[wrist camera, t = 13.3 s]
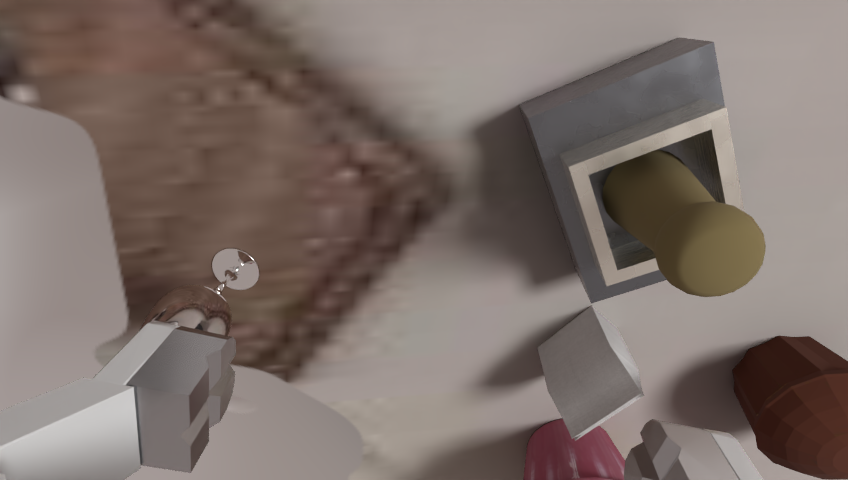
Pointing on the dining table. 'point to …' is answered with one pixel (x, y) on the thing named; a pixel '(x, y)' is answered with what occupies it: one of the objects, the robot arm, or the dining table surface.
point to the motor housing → (629, 150)
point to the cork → (684, 225)
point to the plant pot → (572, 455)
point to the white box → (589, 372)
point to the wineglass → (208, 295)
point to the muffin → (797, 404)
